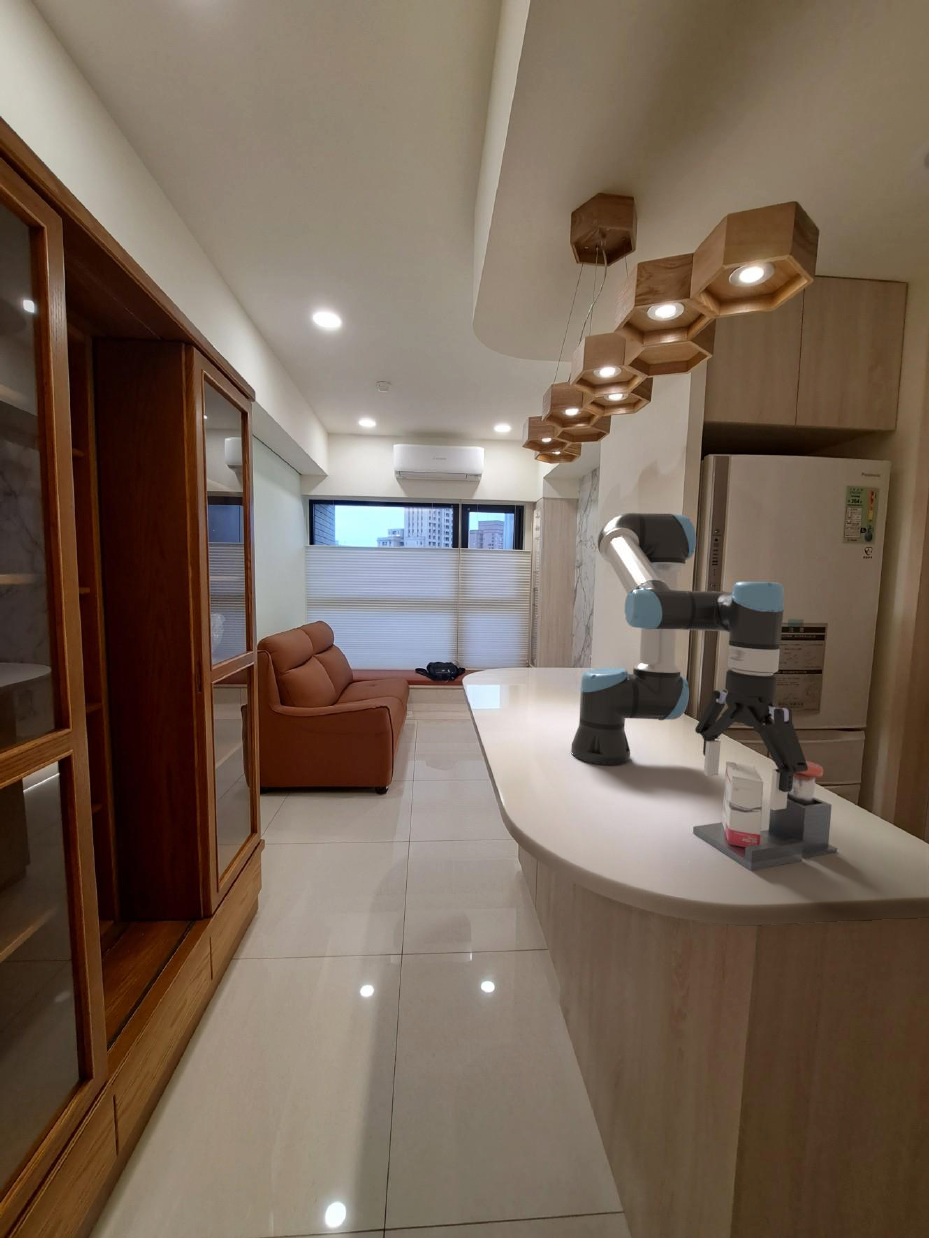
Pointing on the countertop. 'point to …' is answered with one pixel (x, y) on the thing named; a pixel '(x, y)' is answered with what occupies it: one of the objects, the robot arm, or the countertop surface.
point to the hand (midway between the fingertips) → (741, 790)
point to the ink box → (742, 805)
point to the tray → (752, 848)
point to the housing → (803, 826)
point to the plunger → (805, 784)
